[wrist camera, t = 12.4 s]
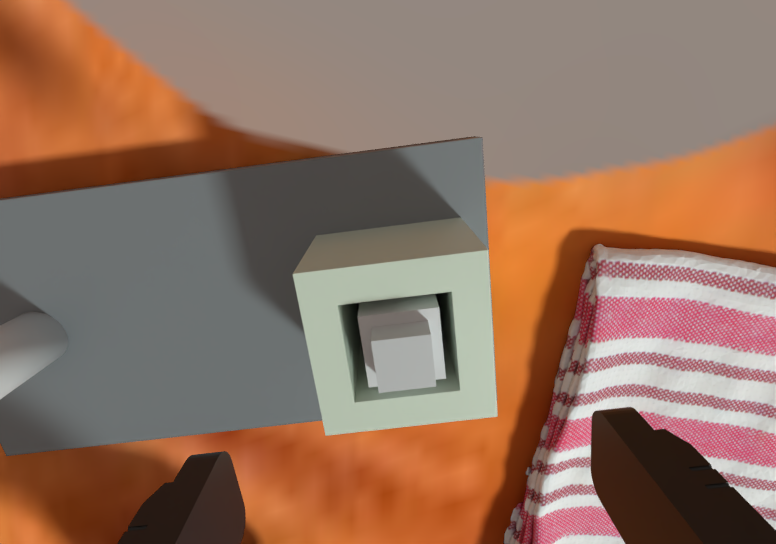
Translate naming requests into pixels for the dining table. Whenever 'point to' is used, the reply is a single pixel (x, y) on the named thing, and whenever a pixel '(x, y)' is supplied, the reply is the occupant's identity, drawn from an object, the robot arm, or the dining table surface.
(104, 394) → the board
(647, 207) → the dining table surface
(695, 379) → the dish towel
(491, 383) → the collar
